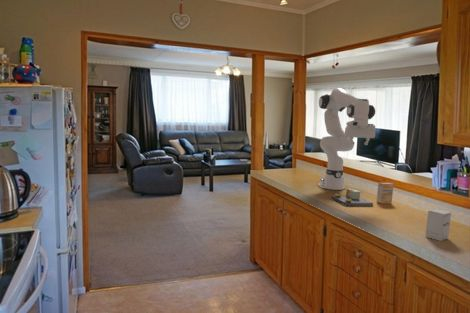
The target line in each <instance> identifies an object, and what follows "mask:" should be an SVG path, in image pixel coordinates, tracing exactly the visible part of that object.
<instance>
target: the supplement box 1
mask: <svg viewBox="0 0 470 313" xmlns="http://www.w3.org/2000/svg"><path fill="white" fill-rule="evenodd" d="M394 185H395V184H394V183H391V182H378V184H377V193H376V195H377V196H376V203H378V204H381V205H385V204H387V205H389V204H390V205H392V203H393V202H392V201H393V193H394Z"/></svg>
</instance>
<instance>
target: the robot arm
mask: <svg viewBox="0 0 470 313" xmlns="http://www.w3.org/2000/svg"><path fill="white" fill-rule="evenodd" d="M318 106H319V108H320V109H322V110H325V111H324V114H323V115H324V116H323V117H324V118H323V120H324V124H325V129H326V133H327V134H328V135H329V136H323V137H322V138H321V139H320V140H319V141H320V142H319V146H320V148H321V150H322V151H324V153H325V154H326V158H327V168H326V170H325V174H324V175H323V176H322V177H321V178H320V182H319V183H318V184H317V185H318V186H319V187H320V188H321V189H326V190H334V191H335V190H336V191H341V190H344V189H346V186H345V177H344V170H343V169H344V168H343V167H344V159H343V158H342V157H341V156H339V154H338V152H350V151H352V150H353V149H354V146H355V141H354V138H356V139H357V138H358V139H359V138H360V139H361V138H362V139H365V140H366V141H365V142H363V144H364V146H368V144H369V141H370V140H371V139H375V137H376V126H375V124H373V123H369V120H371V119H372V118H374V116H376V108H375V106H374V105H373V104H372V103H371V104H370V102H369V99H368V98H364V97H355V96H354V95H353V94H350V93H349V92H348V91H346V90H345V89H343V88H341V87H336V88H334V89H333V90H331V93H330V94H328V93H327V94H324V95H321V96H320V97H319V100H318ZM345 109H346V115H347V117H348V118H350V119H353V120H350V121H348V122H346V126H345V129H343V128H342V124H341V121H340V117H339V112H340V113H341V112H343V111H344V110H345Z"/></svg>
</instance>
